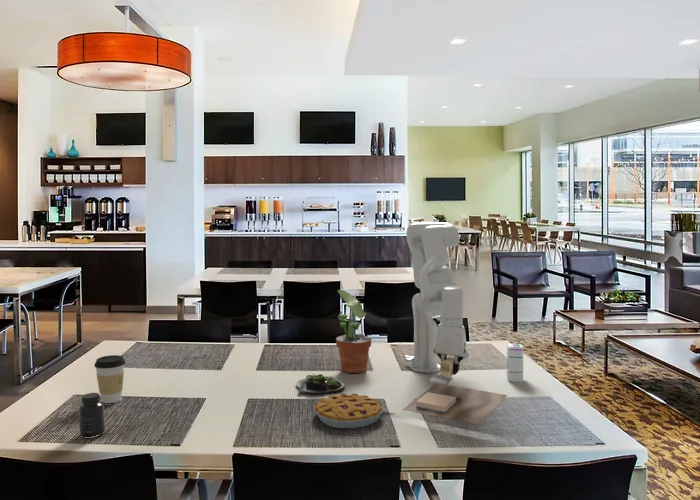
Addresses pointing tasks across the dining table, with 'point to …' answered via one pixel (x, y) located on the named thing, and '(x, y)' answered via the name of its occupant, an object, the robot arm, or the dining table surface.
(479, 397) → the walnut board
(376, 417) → the pie
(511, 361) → the syrup box
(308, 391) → the salad plate
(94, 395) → the supplement bottle
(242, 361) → the dining table surface
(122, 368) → the coffee cup
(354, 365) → the potted plant
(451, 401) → the tile
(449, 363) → the tan bar
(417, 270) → the robot arm
